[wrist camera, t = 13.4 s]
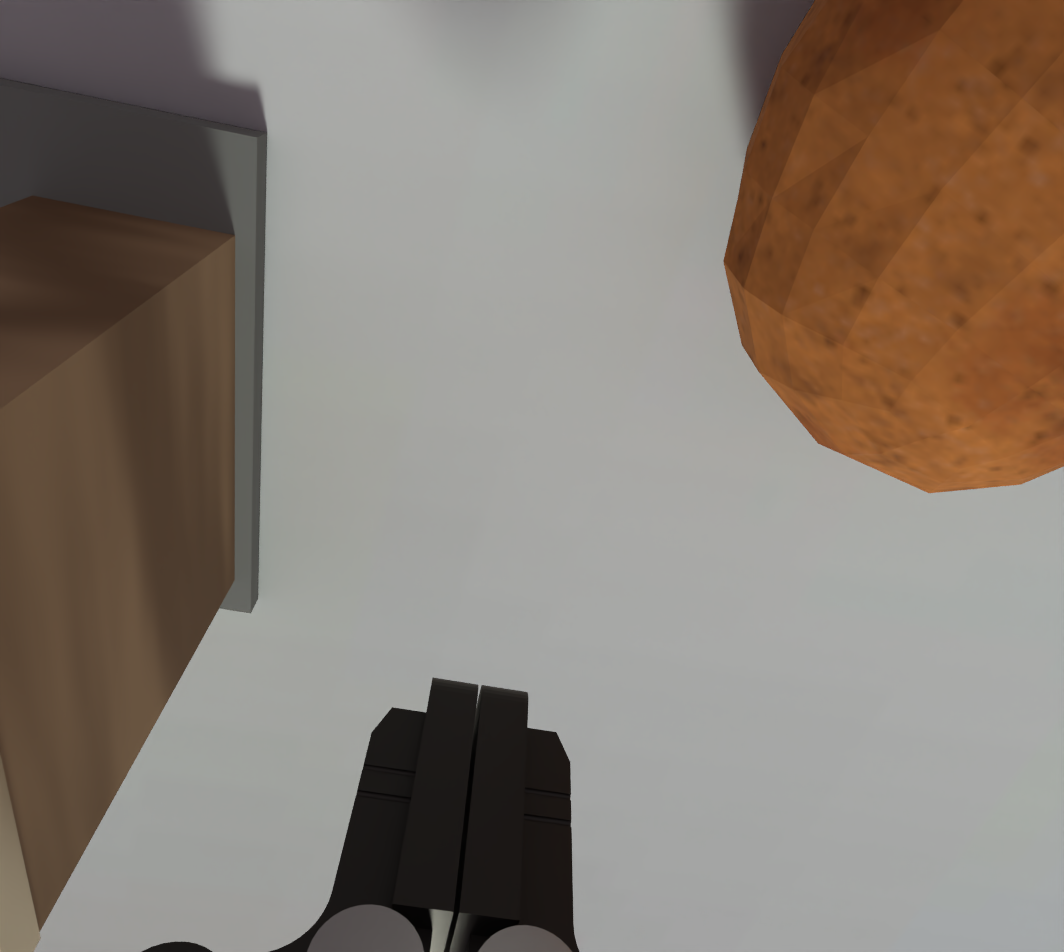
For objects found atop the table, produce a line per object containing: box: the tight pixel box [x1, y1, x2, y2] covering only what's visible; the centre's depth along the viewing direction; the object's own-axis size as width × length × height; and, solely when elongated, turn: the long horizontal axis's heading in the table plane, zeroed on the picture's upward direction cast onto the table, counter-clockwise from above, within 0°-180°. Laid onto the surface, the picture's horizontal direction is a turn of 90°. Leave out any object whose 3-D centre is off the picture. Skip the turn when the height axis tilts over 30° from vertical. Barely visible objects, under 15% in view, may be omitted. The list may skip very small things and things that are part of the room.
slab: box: [0, 195, 235, 952], centre depth 14 cm, size 4×9×10 cm, turn 169°
